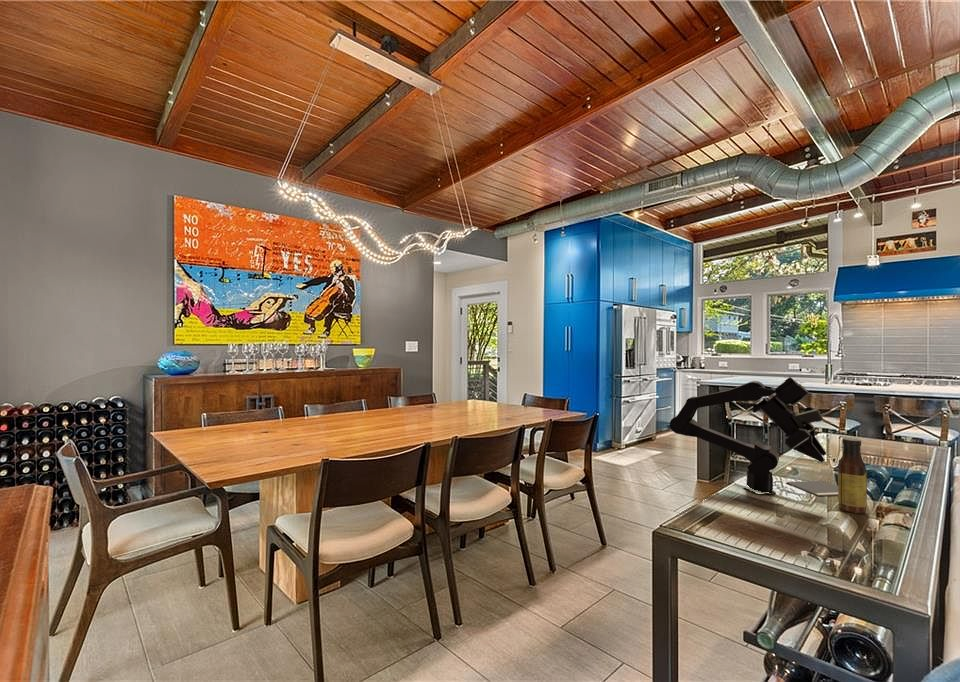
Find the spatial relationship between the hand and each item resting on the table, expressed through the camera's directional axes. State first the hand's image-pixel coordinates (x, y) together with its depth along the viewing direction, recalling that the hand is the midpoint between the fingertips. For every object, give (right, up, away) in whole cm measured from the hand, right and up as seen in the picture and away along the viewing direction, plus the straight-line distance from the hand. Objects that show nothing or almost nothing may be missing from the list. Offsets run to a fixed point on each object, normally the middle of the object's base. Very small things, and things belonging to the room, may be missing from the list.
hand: (824, 457), depth 130 cm
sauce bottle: (+5, -14, -4) cm, 15 cm away
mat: (+9, -13, +13) cm, 21 cm away
